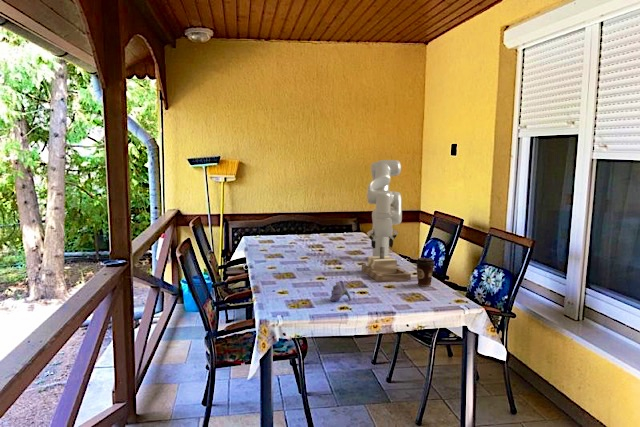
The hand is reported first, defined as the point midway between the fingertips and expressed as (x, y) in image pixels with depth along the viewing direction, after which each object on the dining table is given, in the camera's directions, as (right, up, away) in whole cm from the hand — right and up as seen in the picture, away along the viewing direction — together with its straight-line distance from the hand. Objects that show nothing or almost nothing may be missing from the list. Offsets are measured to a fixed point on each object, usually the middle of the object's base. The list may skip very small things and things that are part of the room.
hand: (382, 247), depth 260 cm
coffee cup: (+17, -17, -24) cm, 34 cm away
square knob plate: (0, -14, +1) cm, 14 cm away
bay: (+1, -14, -4) cm, 15 cm away
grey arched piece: (-25, -20, -50) cm, 59 cm away
